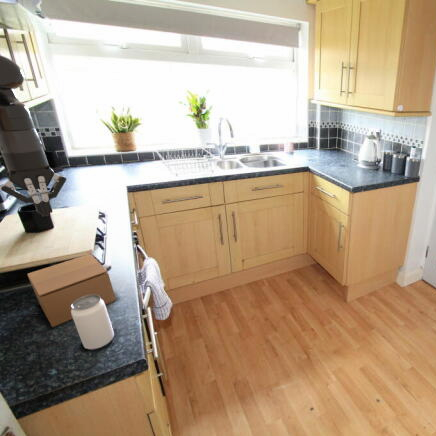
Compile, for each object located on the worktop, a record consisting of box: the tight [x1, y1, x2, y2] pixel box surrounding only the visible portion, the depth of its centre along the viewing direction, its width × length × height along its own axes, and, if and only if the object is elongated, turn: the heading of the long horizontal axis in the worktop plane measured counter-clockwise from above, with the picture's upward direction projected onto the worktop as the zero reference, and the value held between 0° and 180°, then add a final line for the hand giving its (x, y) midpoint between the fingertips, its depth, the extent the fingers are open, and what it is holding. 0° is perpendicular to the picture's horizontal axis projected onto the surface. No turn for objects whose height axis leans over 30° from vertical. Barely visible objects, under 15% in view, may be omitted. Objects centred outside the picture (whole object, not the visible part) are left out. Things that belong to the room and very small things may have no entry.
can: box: [71, 295, 115, 350], centre depth 77 cm, size 6×6×12 cm
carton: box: [27, 261, 117, 328], centre depth 90 cm, size 15×14×10 cm
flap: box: [27, 253, 99, 284], centre depth 90 cm, size 15×7×1 cm, turn 140°
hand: (46, 215), depth 83 cm, fingers closed
